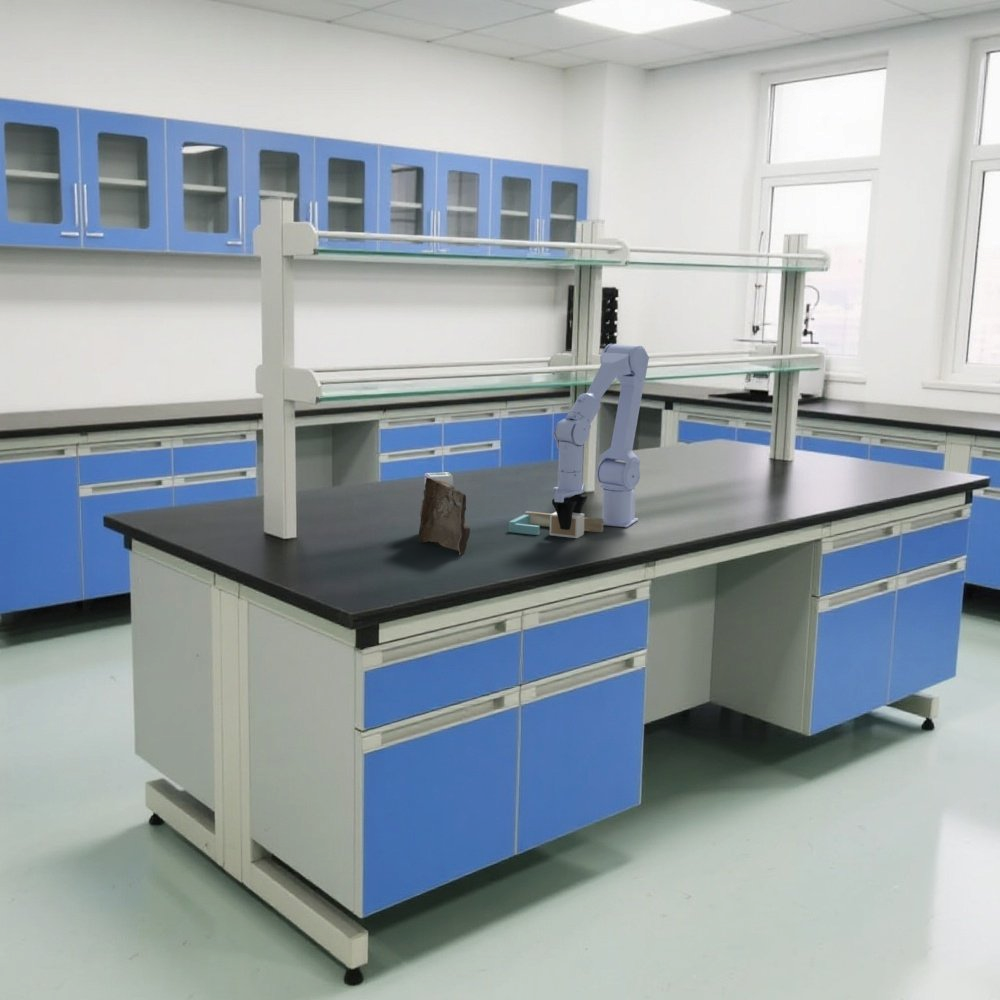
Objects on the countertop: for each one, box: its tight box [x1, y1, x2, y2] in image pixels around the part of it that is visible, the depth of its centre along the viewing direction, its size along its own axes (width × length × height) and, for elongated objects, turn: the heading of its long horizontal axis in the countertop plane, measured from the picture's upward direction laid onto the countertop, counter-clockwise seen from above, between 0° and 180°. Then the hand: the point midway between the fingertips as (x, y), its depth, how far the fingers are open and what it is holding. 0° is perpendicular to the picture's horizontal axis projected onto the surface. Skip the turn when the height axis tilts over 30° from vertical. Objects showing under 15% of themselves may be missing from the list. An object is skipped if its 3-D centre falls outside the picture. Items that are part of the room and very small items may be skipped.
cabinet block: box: [549, 511, 586, 539], centre depth 262 cm, size 5×7×5 cm
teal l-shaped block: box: [508, 513, 541, 536], centre depth 268 cm, size 10×8×2 cm
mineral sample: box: [418, 478, 471, 556], centre depth 247 cm, size 17×4×15 cm, turn 37°
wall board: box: [524, 510, 604, 533], centre depth 270 cm, size 1×20×3 cm, turn 65°
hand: (569, 526), depth 262 cm, fingers closed on cabinet block, 4 cm apart
